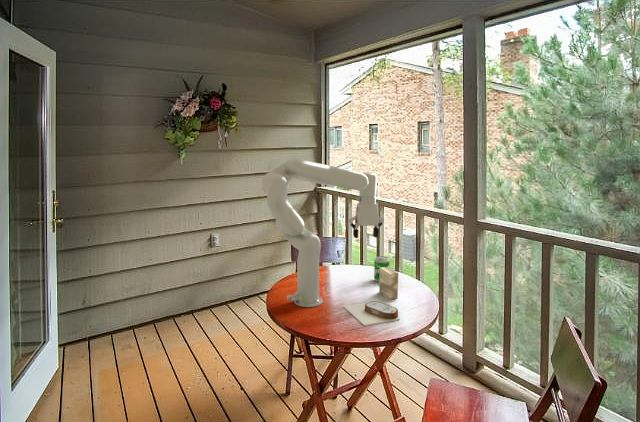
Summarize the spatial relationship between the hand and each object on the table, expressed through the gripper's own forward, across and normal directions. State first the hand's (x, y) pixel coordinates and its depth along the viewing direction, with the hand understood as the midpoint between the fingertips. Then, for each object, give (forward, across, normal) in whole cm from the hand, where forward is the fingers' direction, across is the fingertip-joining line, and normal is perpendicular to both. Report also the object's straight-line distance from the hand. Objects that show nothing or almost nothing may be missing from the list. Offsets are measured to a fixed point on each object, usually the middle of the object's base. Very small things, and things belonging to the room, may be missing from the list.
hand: (365, 237), depth 200 cm
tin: (+24, +1, -23) cm, 34 cm away
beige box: (+26, +10, -7) cm, 29 cm away
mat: (+27, -7, -23) cm, 36 cm away
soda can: (+26, +16, +13) cm, 33 cm away
